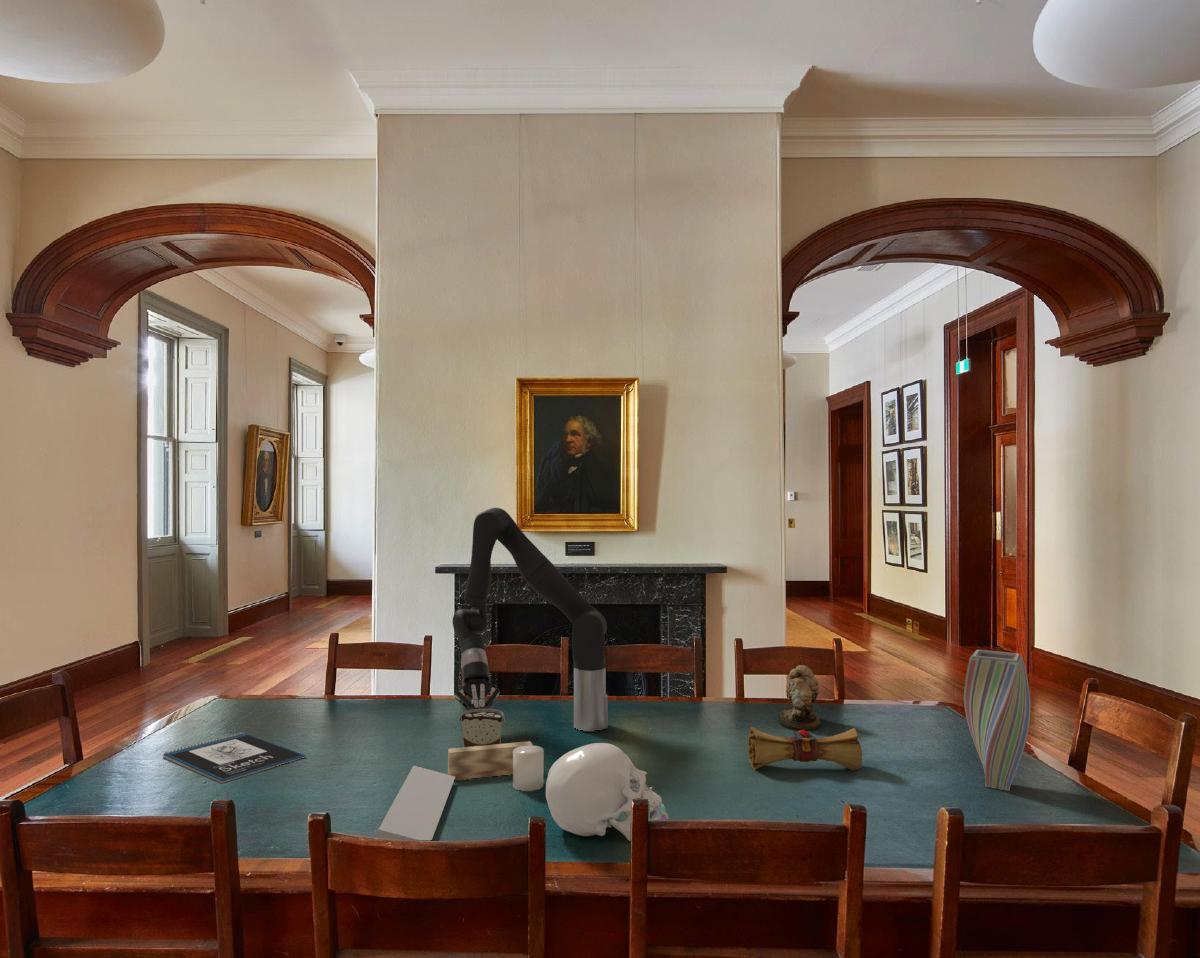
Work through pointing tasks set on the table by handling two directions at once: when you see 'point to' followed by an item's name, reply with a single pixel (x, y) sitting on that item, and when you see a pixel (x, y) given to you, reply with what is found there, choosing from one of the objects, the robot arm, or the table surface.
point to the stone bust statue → (801, 700)
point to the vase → (997, 712)
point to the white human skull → (597, 790)
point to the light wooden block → (482, 760)
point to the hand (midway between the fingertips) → (480, 722)
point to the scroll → (804, 748)
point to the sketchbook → (232, 757)
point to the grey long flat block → (417, 806)
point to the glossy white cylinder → (528, 768)
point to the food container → (481, 727)
